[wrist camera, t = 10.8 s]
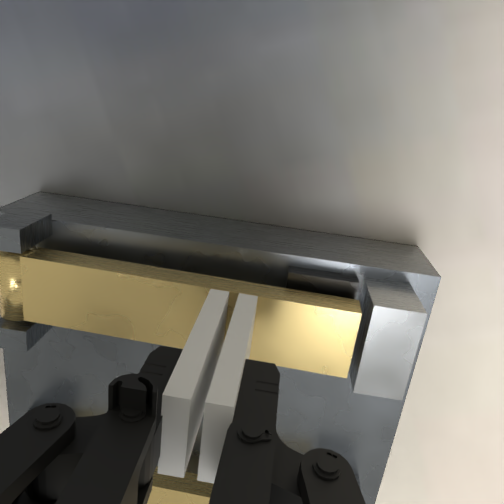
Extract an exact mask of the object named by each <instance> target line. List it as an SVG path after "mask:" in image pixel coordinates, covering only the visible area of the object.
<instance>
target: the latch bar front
mask: <svg viewBox="0 0 504 504" xmlns="http://www.w3.org/2000/svg"><path fill="white" fill-rule="evenodd" d="M210 289H216V290H222V291H228V292H229V300H228V309H227V317H226V326H225V335H224V340H225V337H226V334H227V330H228V327H229V324H230V321H231V317H232V314H233V311H234V308H235V305H236V301H237V298H238V295H239V293H241V294H248V295H254V296H258V300H257V307H256V314H255V321H254V328H253V335H252V342H251V350H250V356H249V359H250V360H256V361H262V362H268V363H274V364H275V365H276V366H280V367H286V368H291V369H297V370H303V371H308V372H314V373H319V374H325V375H330V376H336V377H342V378H347V376H348V371H349V367H350V363H351V359H352V354H353V350H354V346H355V341H356V337H357V333H358V329H359V324H360V320H361V316H362V312H361V307H360V302H359V300H355V299H349V298H343V297H337V296H331V295H325V294H319V293H313V292H306V291H300V290H294V289H288V288H282V287H276V286H270V285H264V284H258V283H252V282H246V281H240V280H234V279H228V278H222V277H216V276H210V275H204V274H198V273H192V272H186V271H180V270H173V269H167V268H161V267H155V266H149V265H143V264H137V263H131V262H125V261H119V260H113V259H107V258H101V257H95V256H89V255H83V254H77V253H71V252H65V251H59V250H53V249H47V248H41V247H36V246H33V247H31V248H30V249H28V250H26V251H25V252H23V253H21V254H19V253H12V252H6V251H0V315H1V317H2V318H3V319H5V320H9V321H30V322H35V323H41V324H46V325H52V326H57V327H63V328H69V329H74V330H80V331H85V332H91V333H96V334H102V335H108V336H113V337H119V338H124V339H130V340H135V341H141V342H147V343H152V344H158V345H163V346H169V347H174V348H180V349H183V348H184V346H185V344H186V342H187V339H188V337H189V335H190V333H191V331H192V329H193V326H194V324H195V322H196V320H197V318H198V315H199V313H200V311H201V309H202V307H203V304H204V302H205V300H206V298H207V296H208V293H209V291H210Z"/></svg>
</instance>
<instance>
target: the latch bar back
mask: <svg viewBox="0 0 504 504" xmlns="http://www.w3.org/2000/svg"><path fill="white" fill-rule="evenodd" d="M197 476H198V474H194V473H189V472H185V476H184V478H180V477H175V476H169V475H164V474H158V466H156V468H155V471H154V473H153V483H152V490H151V493H150V496H149V499H148V502H147V504H209V500H210V496H211V492H212V488H213V483H208V482H202V481H197Z"/></svg>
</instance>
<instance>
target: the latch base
mask: <svg viewBox="0 0 504 504" xmlns="http://www.w3.org/2000/svg"><path fill="white" fill-rule="evenodd" d="M33 246H36V247H41V248H47V249H53V250H59V251H65V252H71V253H77V254H83V255H89V256H95V257H101V258H107V259H113V260H119V261H125V262H131V263H137V264H143V265H149V266H155V267H161V268H167V269H173V270H180V271H186V272H192V273H198V274H204V275H210V276H216V277H222V278H228V279H234V280H240V281H246V282H252V283H258V284H264V285H270V286H276V287H282V288H288V289H294V290H300V291H306V292H313V293H319V294H325V295H331V296H337V297H343V298H349V299H355V300H359V302H360V307H361V312H362V316H361V320H360V324H359V329H358V333H357V337H356V341H355V346H354V350H353V354H352V359H351V363H350V367H349V371H348V376H347V378H342V377H336V376H330V375H325V374H319V373H314V372H308V371H303V370H297V369H291V368H286V367H280V366H276V367H277V369H278V371H279V372H280V383H279V394H278V407H277V419H276V432H277V434H278V436H279V438H280V439H281V441H282V442H283V443H284V444H285V445H287V446H288V447H289V448H291V449H293V450H295V451H297V452H299V453H301V454H303V455H304V454H305V453H306V452H308V451H310V450H311V449H317V448H324V449H330V450H332V451H334V452H336V453H339V454H340V455H341V456H343V457H344V458H345V459H346V460H347V461H348V463H349V464H350V466H351V467H352V469H353V472H354V475H355V477H356V480H357V482H358V485H359V488H360V490H361V493H362V495H363V498H364V501H365V503H366V504H375V501H376V497H377V494H378V491H379V487H380V484H381V480H382V477H383V474H384V470H385V467H386V463H387V460H388V457H389V453H390V450H391V446H392V443H393V439H394V436H395V433H396V429H397V426H398V422H399V419H400V416H401V412H402V409H403V405H404V402H405V399H406V395H407V392H408V388H409V385H410V382H411V378H412V375H413V371H414V368H415V364H416V361H417V358H418V354H419V351H420V347H421V344H422V341H423V337H424V334H425V330H426V327H427V324H428V320H429V317H430V313H431V310H432V306H433V303H434V300H435V296H436V293H437V289H438V286H439V283H440V279H441V276H440V275H439V274H438V272H437V271H436V270H435V268H434V267H433V266H432V264H431V263H430V262H429V260H428V259H427V258H426V256H425V255H424V254H423V252H422V251H421V250H420V249H419V247H418V246H412V245H405V244H398V243H391V242H384V241H377V240H370V239H363V238H356V237H350V236H343V235H336V234H329V233H322V232H315V231H308V230H301V229H294V228H287V227H280V226H273V225H266V224H259V223H252V222H246V221H239V220H232V219H225V218H218V217H211V216H204V215H197V214H190V213H183V212H176V211H169V210H162V209H155V208H148V207H142V206H135V205H128V204H121V203H114V202H107V201H100V200H93V199H86V198H79V197H72V196H65V195H58V194H51V193H44V192H37V193H35V194H32V195H30V196H28V197H25V198H23V199H20V200H18V201H15V202H13V203H10V204H8V205H5V206H3V207H0V251H6V252H12V253H19V254H21V253H23V252H25V251H26V250H28V249H30V248H31V247H33ZM0 316H1V315H0ZM159 346H163V345H158V344H152V343H147V342H141V341H135V340H130V339H124V338H119V337H113V336H108V335H102V334H96V333H91V332H85V331H80V330H74V329H69V328H63V327H57V326H52V325H46V324H41V323H35V322H30V321H9V320H5V319H3V318H2V317H1V318H0V348H3V351H4V363H5V375H6V387H7V399H8V411H9V423H10V426H11V425H12V424H13V423H14V422H16V421H17V420H18V419H19V418H21V417H22V416H23V415H24V414H25V413H27V412H28V411H30V410H31V409H33V408H35V407H37V406H40V405H43V404H46V403H61V404H66V405H67V406H69V407H71V408H72V409H73V411H74V413H75V417H86V416H96V415H101V414H104V413H107V411H108V385H109V384H110V383H111V382H112V381H113V380H114V379H115V378H117V377H119V376H121V375H126V374H131V373H134V374H138V373H139V372H140V369H141V368H142V366H143V365H144V362H145V361H146V359H147V357H148V355H149V354H150V353H151V352H152V351H154V350H155V349H156V348H158V347H159ZM166 347H169V346H166ZM172 348H174V347H172ZM178 349H180V348H178ZM203 418H204V413H203V417H202V420H201V423H200V426H199V430H198V433H197V436H196V440H195V443H194V446H193V449H192V453H191V456H190V459H189V463H188V466H187V469H186V472H189V473H194V474H198V466H199V456H200V447H201V437H202V428H203ZM157 466H158V463H157Z"/></svg>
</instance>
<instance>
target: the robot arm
mask: <svg viewBox="0 0 504 504" xmlns="http://www.w3.org/2000/svg"><path fill="white" fill-rule="evenodd" d="M228 300H229V292H228V291H222V290H216V289H210V291H209V293H208V296H207V298H206V300H205V302H204V304H203V307H202V309H201V311H200V313H199V315H198V318H197V320H196V322H195V324H194V326H193V329H192V331H191V333H190V335H189V337H188V339H187V342H186V344H185V346H184V348H183V349H178V348H172V347H166V346H159V347H158V348H156V349H155V350H154V351H152V352H151V353H150V354H149V355H148V357H147V359H146V361H145V362H144V365H143V366H142V368H141V369H140V372H139V373H138V374H134V373H131V374H126V375H121V376H119V377H117V378H115V379H114V380H113V381H112V382H111V383H110V384H109V385H108V411H107V413H104V414H101V415H96V416H86V417H75V413H74V411H73V409H72V408H71V407H69V406H67V405H66V404H61V403H46V404H43V405H40V406H37V407H35V408H33V409H31V410H30V411H28V412H27V413H25V414H24V415H23V416H22V417H21V418H19V419H18V420H17V421H16V422H14V423H13V424H12V425H11V426H10V427H8V428H7V429H6V430H5V431H3V432H2V433H1V434H0V504H147V502H148V499H149V496H150V493H151V490H152V483H153V473H154V471H155V468H156V466H157V463H158V474H164V475H169V476H175V477H180V478H184V476H185V472H186V469H187V466H188V463H189V459H190V456H191V453H192V449H193V446H194V443H195V440H196V436H197V433H198V430H199V426H200V423H201V420H202V417H203V413H204V418H203V428H202V437H201V447H200V456H199V466H198V476H197V481H202V482H208V483H213V488H212V492H211V496H210V500H209V504H366V503H365V501H364V498H363V495H362V493H361V490H360V488H359V485H358V482H357V480H356V477H355V475H354V472H353V469H352V467H351V466H350V464H349V463H348V461H347V460H346V459H345V458H344V457H343V456H341V455H340V454H339V453H336V452H334V451H332V450H330V449H324V448H317V449H311V450H310V451H308V452H306V453H305V454H304V455H303V454H301V453H299V452H297V451H295V450H293V449H291V448H289V447H288V446H287V445H285V444H284V443H283V442H282V441H281V439H280V438H279V436H278V434H277V432H276V419H277V407H278V394H279V383H280V372H279V371H278V369H277V367H276V365H275V364H274V363H268V362H262V361H256V360H250V359H249V356H250V350H251V342H252V335H253V328H254V321H255V314H256V307H257V300H258V296H254V295H248V294H241V293H239V295H238V298H237V301H236V305H235V308H234V311H233V314H232V317H231V321H230V324H229V327H228V330H227V334H226V337H225V340H224V335H225V326H226V317H227V309H228Z"/></svg>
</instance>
